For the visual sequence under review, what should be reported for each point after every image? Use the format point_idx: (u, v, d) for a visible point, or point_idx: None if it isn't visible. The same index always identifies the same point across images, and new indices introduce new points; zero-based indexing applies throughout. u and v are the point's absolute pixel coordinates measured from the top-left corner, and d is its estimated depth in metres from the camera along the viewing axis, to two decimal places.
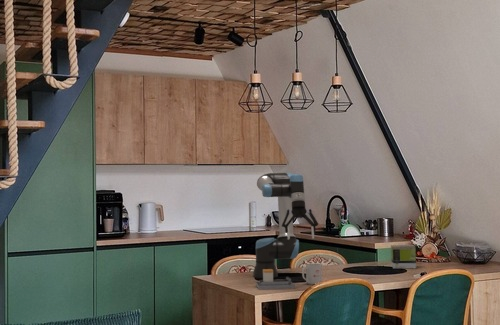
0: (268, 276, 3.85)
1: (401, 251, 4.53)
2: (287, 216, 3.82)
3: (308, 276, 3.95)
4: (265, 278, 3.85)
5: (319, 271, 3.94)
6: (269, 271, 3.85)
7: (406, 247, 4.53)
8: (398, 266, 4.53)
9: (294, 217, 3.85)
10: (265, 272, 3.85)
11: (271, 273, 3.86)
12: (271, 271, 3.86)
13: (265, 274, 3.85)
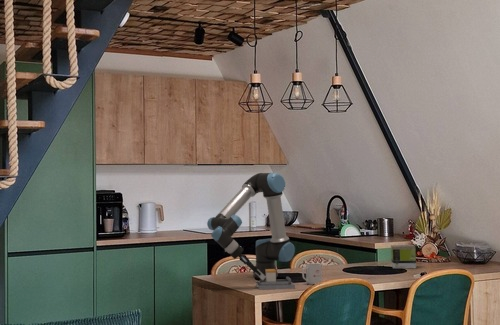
0: (271, 276, 3.86)
1: (401, 251, 4.53)
2: None
3: (308, 276, 3.95)
4: (268, 278, 3.85)
5: (319, 271, 3.94)
6: (272, 271, 3.86)
7: (406, 247, 4.53)
8: (398, 266, 4.53)
9: None
10: (268, 272, 3.85)
11: (273, 273, 3.86)
12: (274, 271, 3.86)
13: (268, 274, 3.85)
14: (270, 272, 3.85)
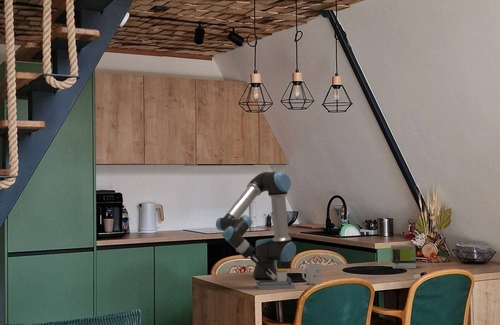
0: (282, 276, 3.86)
1: (401, 251, 4.53)
2: None
3: (308, 276, 3.95)
4: (279, 278, 3.86)
5: (319, 271, 3.94)
6: (283, 271, 3.86)
7: (406, 247, 4.53)
8: (398, 266, 4.53)
9: None
10: (279, 272, 3.86)
11: (284, 273, 3.87)
12: (285, 271, 3.86)
13: (279, 274, 3.86)
14: (281, 272, 3.86)
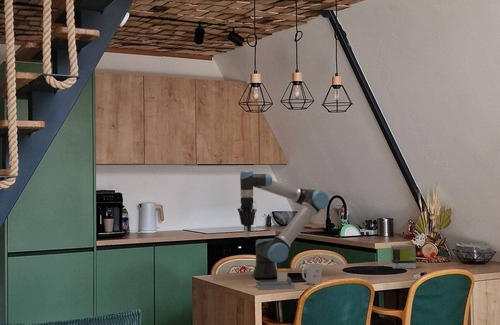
0: (282, 276, 3.86)
1: (401, 251, 4.53)
2: (240, 214, 4.09)
3: (308, 276, 3.95)
4: (279, 278, 3.86)
5: (319, 271, 3.94)
6: (284, 271, 3.86)
7: (406, 247, 4.53)
8: (398, 266, 4.53)
9: None
10: (279, 272, 3.86)
11: (285, 273, 3.87)
12: (285, 271, 3.86)
13: (279, 274, 3.86)
14: (282, 272, 3.86)
